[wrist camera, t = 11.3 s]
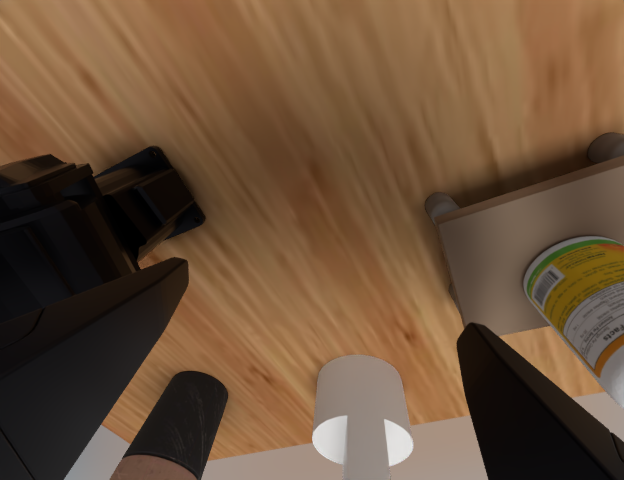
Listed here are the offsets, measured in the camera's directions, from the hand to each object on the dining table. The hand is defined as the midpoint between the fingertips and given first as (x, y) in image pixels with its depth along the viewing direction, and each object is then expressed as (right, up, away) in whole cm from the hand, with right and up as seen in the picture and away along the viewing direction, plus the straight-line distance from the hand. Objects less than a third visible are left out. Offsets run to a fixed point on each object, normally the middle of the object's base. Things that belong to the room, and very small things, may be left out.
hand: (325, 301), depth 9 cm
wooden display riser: (+15, +3, +12) cm, 19 cm away
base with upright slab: (+5, -13, +22) cm, 26 cm away
